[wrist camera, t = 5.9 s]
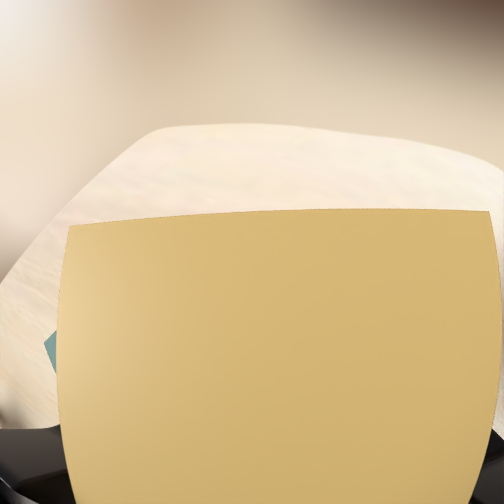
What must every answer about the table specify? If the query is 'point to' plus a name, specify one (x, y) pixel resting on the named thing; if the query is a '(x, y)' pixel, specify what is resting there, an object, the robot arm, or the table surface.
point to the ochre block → (279, 357)
